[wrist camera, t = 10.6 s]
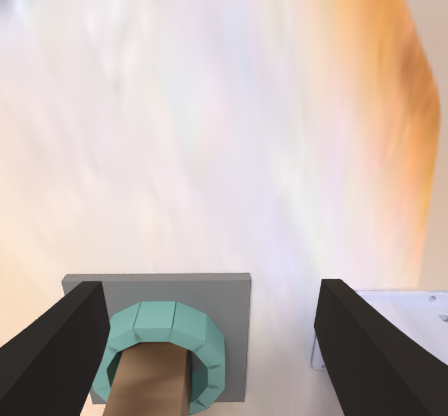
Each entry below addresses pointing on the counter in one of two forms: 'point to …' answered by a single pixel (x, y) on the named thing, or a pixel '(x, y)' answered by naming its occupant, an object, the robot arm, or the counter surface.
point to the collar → (178, 327)
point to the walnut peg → (152, 381)
